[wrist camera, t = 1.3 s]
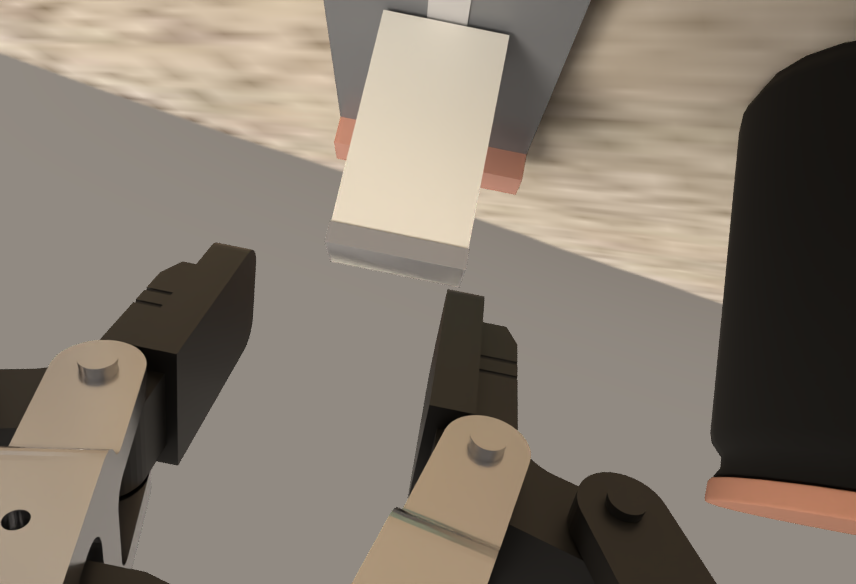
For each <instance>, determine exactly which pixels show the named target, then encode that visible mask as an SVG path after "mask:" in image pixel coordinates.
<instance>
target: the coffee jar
mask: <svg viewBox="0 0 856 584" xmlns="http://www.w3.org/2000/svg"><path fill="white" fill-rule="evenodd" d="M711 441H712V444H713V446H714V447H715V448H716V450H717V452H718V453H719V455H720V456H721V467H720V469H719V470H718V471H717V473H716V474H715V475H714V477H712V478H711V479H709V480H708V483H707V488H706V494H705V501H706V502H708V503H710V504H713V505H716V506H719V507H723V508H727V509H731V510H735V511H739V512H743V513H748V514H753V515H757V516H761V517H766V518H771V519H776V520H781V521H786V522H790V523H795V524H801V525H806V526H810V527H816V528H821V529H826V530H831V531H837V532H842V533H848V534H853V535H856V41H854V42H848V43H843V44H840V45H837V46H834V47H831V48H828V49H826V50H823V51H820V52H817V53H814V54H811V55H808V56H806V57H804V58H802V59H801V60H799V61H797V62H795V63H794V64H792V65H790V66H789V67H787V68H785V69H784V70H782V71H780V72H779V73H777V74H776V75H775V77H774V78H773V79H772V80H771V81H770V82H769V83H768V84H767V85H766V86H765V88H764V89H763V90H762V91H761V92H760V94H759V95H758V96H757V97H756V98H755V99H754V100H753V101H752V102H751V103H750V105H749V106H748V107H747V109H746V111H745V112H744V114H743V118H742V123H741V127H740V132H739V140H738V150H737V161H736V171H735V182H734V192H733V203H732V213H731V224H730V234H729V245H728V255H727V265H726V276H725V286H724V297H723V307H722V318H721V328H720V339H719V350H718V360H717V370H716V381H715V391H714V401H713V412H712V423H711Z"/></svg>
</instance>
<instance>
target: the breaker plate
mask: <svg viewBox="0 0 856 584" xmlns="http://www.w3.org/2000/svg"><path fill="white" fill-rule="evenodd" d="M590 1H591V0H324V6H325V13H326V20H327V27H328V34H329V40H330V47H331V54H332V61H333V68H334V75H335V81H336V88H337V95H338V102H339V109H340V116H341V117H340V121H339V125H338V129H337V133H336V137H335V141H334V144H335V150H336V155H337V159H342V160H346V159H347V155H348V151H349V147H350V143H351V139H352V135H353V131H354V127H355V123H356V119H357V115H358V111H359V107H360V103H361V99H362V95H363V90H364V86H365V82H366V78H367V74H368V70H369V66H370V62H371V58H372V54H373V50H374V46H375V42H376V38H377V34H378V30H379V26H380V22H381V17H382V13H383V10H388V11H392V12H397V13H402V14H407V15H412V16H417V17H422V18H427V19H432V20H437V21H442V22H447V23H452V24H457V25H461V26H466V27H471V28H476V29H481V30H486V31H491V32H496V33H501V34H506V35H509V41H508V46H507V51H506V56H505V61H504V67H503V72H502V77H501V82H500V87H499V92H498V98H497V103H496V108H495V113H494V118H493V124H492V129H491V134H490V139H489V144H488V149H487V155H486V160H485V165H484V170H483V175H482V181H481V186H480V188H485V189H490V190H495V191H500V192H505V193H509V194H514V195H516V193H517V190H518V188H519V186H520V184H521V181H522V177H523V171H524V166H525V160H526V154H527V152H528V150H529V147H530V145H531V142H532V140H533V138H534V135H535V133H536V131H537V128H538V126H539V123H540V121H541V119H542V116H543V114H544V111H545V109H546V107H547V104H548V102H549V99H550V97H551V95H552V92H553V90H554V87H555V85H556V83H557V80H558V78H559V75H560V73H561V71H562V68H563V66H564V64H565V61H566V59H567V56H568V54H569V52H570V49H571V47H572V44H573V42H574V40H575V37H576V35H577V32H578V30H579V28H580V25H581V23H582V20H583V18H584V16H585V13H586V11H587V8H588V6H589V4H590Z"/></svg>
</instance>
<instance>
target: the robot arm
mask: <svg viewBox="0 0 856 584" xmlns="http://www.w3.org/2000/svg"><path fill="white" fill-rule="evenodd" d="M255 270H256V255H255V252H254V250H251V249H246V248H241V247H236V246H231V245H226V244H221V243H214V244H213V245H212V246H211V247H210V248H209V249H208V251H207V252H206V253H205V254H204V255H203V257H202V258H201V259H200V260H199V262H198V263H197V264H192V263H187V262H181V263H179V264H177V265H174V266H172V267H170V268H168V269H166V270H164V271H162V272H160V273H159V274H158V276H157V277H156V278H155V279H154V280H153V281H152V282H151V283H150V284H149V285H148V287H147V290H144V291H143V292H142V293H141V294H140V296H139V297H138V298H137V299H136V302H135V303H134V302H133V303H132V304H131V305H130V307H129V308H128V309H127V310H126V311H125V312H124V313H123V314H122V316H121V317H120V318H119V319H118V320H117V321H116V322H115V323H114V324H113V326H112V327H111V328H110V329H109V330H108V331H107V333H105V335H104V336H103V337H102V338H101V339H100V340H94V341H88V342H83V343H80V344H76V345H74V346H71V347H69V348H67V349H65V350H63V351H62V352H60V353H59V354H57V355H56V356H55V357H54V358H53V359H52V361H51V363H50V364H49V366H48V367H47V368H40V369H0V584H169V583H167V582H165V581H163V580H160V579H159V578H157V577H155V576H153V575H151V574H149V573H146V572H142V571H138V570H134V569H132V566H133V562H134V558H135V554H136V550H137V546H138V542H139V538H140V534H141V530H142V526H143V522H144V518H145V514H146V509H147V506H148V502H149V497H150V493H151V469H152V467H153V466H154V464H155V462H156V461H158V462H163V463H168V464H173V465H178V464H179V463H180V461H181V459H182V458H183V456H184V454H185V452H186V450H187V449H188V447H189V445H190V443H191V442H192V440H193V438H194V437H195V435H196V433H197V431H198V429H199V428H200V426H201V424H202V423H203V421H204V419H205V417H206V416H207V414H208V412H209V410H210V408H211V407H212V405H213V403H214V402H215V400H216V398H217V396H218V395H219V393H220V391H221V389H222V388H223V386H224V384H225V382H226V381H227V379H228V377H229V375H230V374H231V372H232V370H233V369H234V367H235V365H236V363H237V362H238V359H239V358H240V356H241V354H242V353H243V351H244V349H245V347H246V345H247V342H248V339H249V336H250V332H251V327H252V320H253V306H254V305H253V304H254V288H255ZM483 311H484V296H479V295H474V294H469V293H464V292H459V291H454V290H449V289H448V290H447V294H446V299H445V303H444V308H443V312H442V317H441V321H440V326H439V331H438V335H437V340H436V344H435V349H434V354H433V358H432V363H431V368H430V373H429V378H428V384H427V390H426V396H425V401H424V407H423V413H422V419H421V424H420V430H419V436H418V442H417V448H416V454H415V459H414V465H413V471H412V477H411V482H410V488H409V494H408V500H407V502H406V504H405V506H404V507H403V509H400V508H398V507H396V508H394V509H393V511H392V512H391V514H390V515H389V517H388V518H387V520H386V522H385V524H384V525H383V527H382V529H381V531H380V533H379V535H378V537H377V538H376V540H375V542H374V544H373V546H372V547H371V549H370V551H369V553H368V555H367V557H366V558H365V560H364V562H363V564H362V566H361V567H360V569H359V571H358V573H357V575H356V577H355V578H354V580H353V582H352V584H716V582H715V581H714V579H713V578H712V576H711V574H710V573H709V571H708V570H707V568H706V567H705V565H704V564H703V562H702V560H701V559H700V557H699V556H698V554H697V553H696V551H695V550H694V548H693V547H692V545H691V544H690V542H689V540H688V539H687V538H686V536H685V534H684V533H683V531H682V530H681V528H680V527H679V525H678V523H677V522H676V520H675V519H674V517H673V516H672V514H671V513H670V511H669V510H668V508H667V506H666V505H665V504H664V502H663V501H662V500H661V498H660V497H659V496H658V495H657V494H656V493H655V492H654V491H652V490H651V489H650V488H649V487H648V486H646V485H644V484H643V483H641V482H639V481H638V480H636V479H633V478H631V477H628V476H626V475H622V474H617V473H611V472H602V473H596V474H593V475H590V476H588V477H587V478H585V479H584V480H583V481H582V482H581V484H580V485H579V486H577V485H574V484H572V483H570V482H568V481H566V480H564V479H562V478H559V477H557V476H555V475H553V474H551V473H549V472H547V471H546V470H544V469H543V468H541V467H540V466H538V465H537V464H536V463H535V462H534V461H533V460H532V459H531V451H530V447H529V445H528V443H527V441H526V439H525V438H524V437H523V436H522V434H521V433H520V432H518V418H517V417H518V416H517V415H518V409H517V406H518V402H517V344H516V342H515V340H514V339H513V337H512V335H511V334H510V332H509V330H508V329H507V327H504V326H499V325H494V324H489V323H484V322H483Z"/></svg>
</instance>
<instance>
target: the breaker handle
mask: <svg viewBox="0 0 856 584" xmlns="http://www.w3.org/2000/svg"><path fill="white" fill-rule="evenodd" d="M508 41H509V35H506V34H501V33H496V32H491V31H486V30H481V29H476V28H471V27H466V26H461V25H457V24H452V23H447V22H442V21H437V20H432V19H427V18H422V17H417V16H412V15H407V14H402V13H397V12H392V11H388V10H383V13H382V17H381V22H380V26H379V30H378V34H377V38H376V42H375V46H374V50H373V54H372V58H371V62H370V66H369V70H368V74H367V78H366V82H365V86H364V90H363V95H362V99H361V103H360V107H359V111H358V115H357V119H356V123H355V127H354V131H353V135H352V139H351V143H350V147H349V151H348V155H347V159H346V163H345V167H344V172H343V176H342V180H341V184H340V188H339V192H338V196H337V200H336V204H335V208H334V212H333V216H332V220H331V221H330V222H329V226H328V230H327V234H326V238H325V244H326V248H327V251H328V255H329V258H330V261H331V262H336V263H340V264H345V265H350V266H355V267H360V268H364V269H370V270H374V271H379V272H384V273H389V274H394V275H399V276H404V277H409V278H413V279H418V280H423V281H429V282H433V283H438V284H444V285H448V286H453V287H458V288H460V285H461V282H462V279H463V276H464V273H465V271H466V266H467V261H468V256H469V249H468V248H469V242H470V238H471V232H472V227H473V222H474V217H475V212H476V206H477V201H478V196H479V191H480V186H481V181H482V175H483V170H484V165H485V160H486V155H487V149H488V144H489V139H490V134H491V129H492V124H493V118H494V113H495V108H496V103H497V98H498V92H499V87H500V82H501V77H502V72H503V67H504V61H505V56H506V51H507V46H508Z"/></svg>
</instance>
